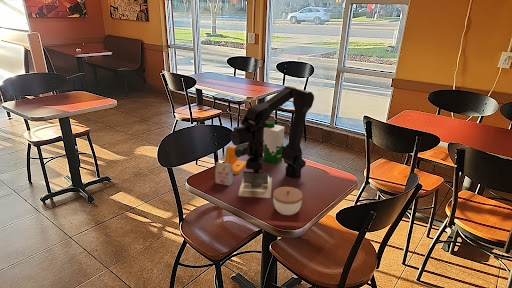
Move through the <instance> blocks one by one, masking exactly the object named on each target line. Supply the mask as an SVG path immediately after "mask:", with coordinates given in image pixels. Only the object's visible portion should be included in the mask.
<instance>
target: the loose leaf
mask: <svg viewBox="0 0 512 288" xmlns="http://www.w3.org/2000/svg"><path fill="white" fill-rule="evenodd" d="M268 176H269V172H264V171H259V172H254V171H248V170H247V171H245V170H242V179H244V183H250V186H262V184H268Z"/></svg>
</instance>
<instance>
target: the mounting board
mask: <svg viewBox="0 0 512 288" xmlns="http://www.w3.org/2000/svg"><path fill="white" fill-rule="evenodd" d="M272 183H273V177H269V182H268V187H262V186H244V179H243V178H242V179H241V183H240V186H239V190H238V193H237V196H238V197H248V198H249V197H250V198H264V199H265V198H270V199H271V197H272V187H273V184H272Z"/></svg>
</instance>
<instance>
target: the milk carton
mask: <svg viewBox="0 0 512 288" xmlns="http://www.w3.org/2000/svg"><path fill="white" fill-rule="evenodd" d="M265 123H266V124H267V125H268V127H266V128H264V145H265V152H264V153H263V156H264V160H263V163H267V164H279V163H281V162H282V161H283V158H282V155H281V153H282V150H283V146H284V135H285V126H282V125H279V124H275V122H274V121H272V120H269V121H268V120H267V121H266V122H265ZM280 161H281V162H280Z"/></svg>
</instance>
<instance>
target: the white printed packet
mask: <svg viewBox="0 0 512 288" xmlns="http://www.w3.org/2000/svg"><path fill="white" fill-rule="evenodd" d="M214 183H215V184H221V185H225V186H231V185H232V183H234V174H233V170H232V167H231V164H225V162H224V163H223V162H218V161H217V162H215V169H214Z"/></svg>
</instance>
